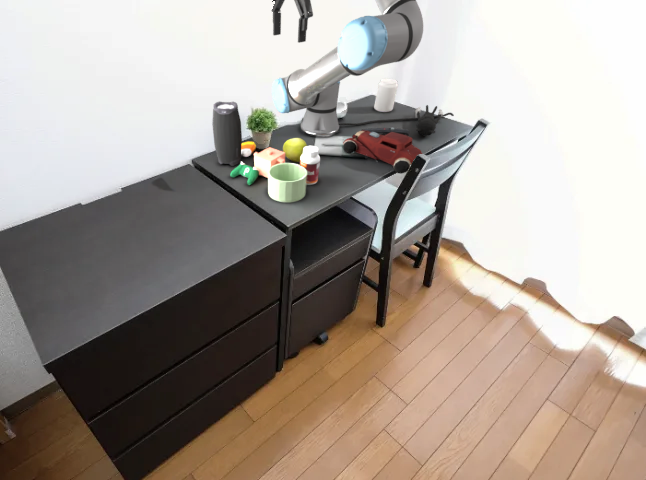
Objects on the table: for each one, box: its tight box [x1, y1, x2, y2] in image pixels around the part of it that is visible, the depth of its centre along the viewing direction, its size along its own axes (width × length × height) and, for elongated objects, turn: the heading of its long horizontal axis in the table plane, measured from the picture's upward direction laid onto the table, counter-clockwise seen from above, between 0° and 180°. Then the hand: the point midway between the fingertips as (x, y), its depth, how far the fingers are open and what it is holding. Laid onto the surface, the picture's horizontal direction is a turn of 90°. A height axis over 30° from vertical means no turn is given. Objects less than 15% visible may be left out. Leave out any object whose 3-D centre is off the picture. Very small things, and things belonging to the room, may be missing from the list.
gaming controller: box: [229, 161, 259, 186], centre depth 124 cm, size 9×4×6 cm
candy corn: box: [241, 140, 257, 158], centre depth 137 cm, size 6×3×8 cm
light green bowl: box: [267, 162, 307, 203], centre depth 115 cm, size 12×12×7 cm
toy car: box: [342, 129, 423, 175], centre depth 129 cm, size 15×28×10 cm, turn 47°
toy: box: [414, 104, 444, 137], centre depth 152 cm, size 11×6×30 cm
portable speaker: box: [211, 101, 243, 167], centre depth 127 cm, size 9×9×20 cm
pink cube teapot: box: [253, 147, 286, 179], centre depth 124 cm, size 8×12×8 cm, turn 51°
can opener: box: [360, 127, 410, 137], centre depth 142 cm, size 18×7×6 cm, turn 71°
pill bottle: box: [299, 145, 321, 186], centre depth 119 cm, size 6×6×11 cm
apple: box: [282, 137, 308, 163], centre depth 131 cm, size 8×9×8 cm
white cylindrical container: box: [373, 78, 399, 113], centre depth 164 cm, size 8×8×12 cm
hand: (288, 38), depth 129 cm, fingers open, 13 cm apart
